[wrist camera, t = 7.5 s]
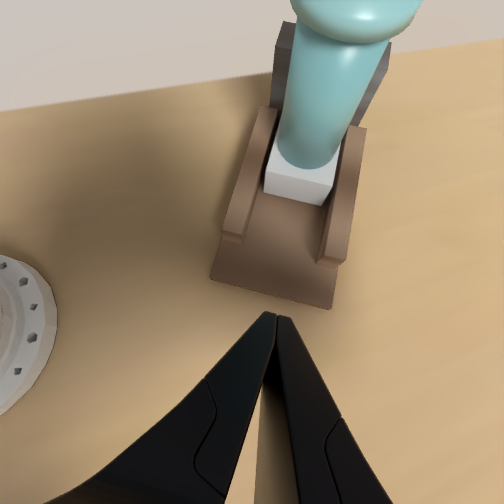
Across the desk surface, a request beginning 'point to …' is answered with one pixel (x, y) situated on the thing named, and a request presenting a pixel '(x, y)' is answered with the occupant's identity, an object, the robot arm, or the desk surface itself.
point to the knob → (327, 88)
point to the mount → (291, 207)
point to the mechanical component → (23, 328)
